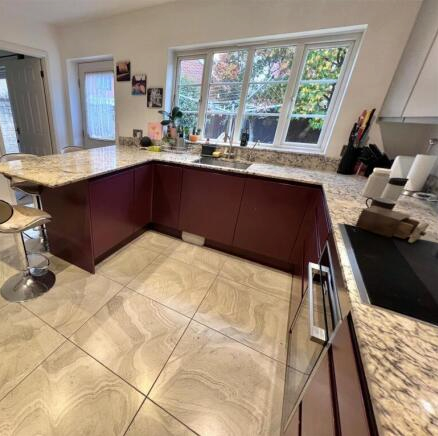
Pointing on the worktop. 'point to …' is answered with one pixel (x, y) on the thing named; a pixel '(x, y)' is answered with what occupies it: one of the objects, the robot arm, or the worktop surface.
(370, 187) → the jar
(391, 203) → the coffee mug
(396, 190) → the travel mug
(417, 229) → the drawer
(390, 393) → the worktop surface
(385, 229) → the cabinet
